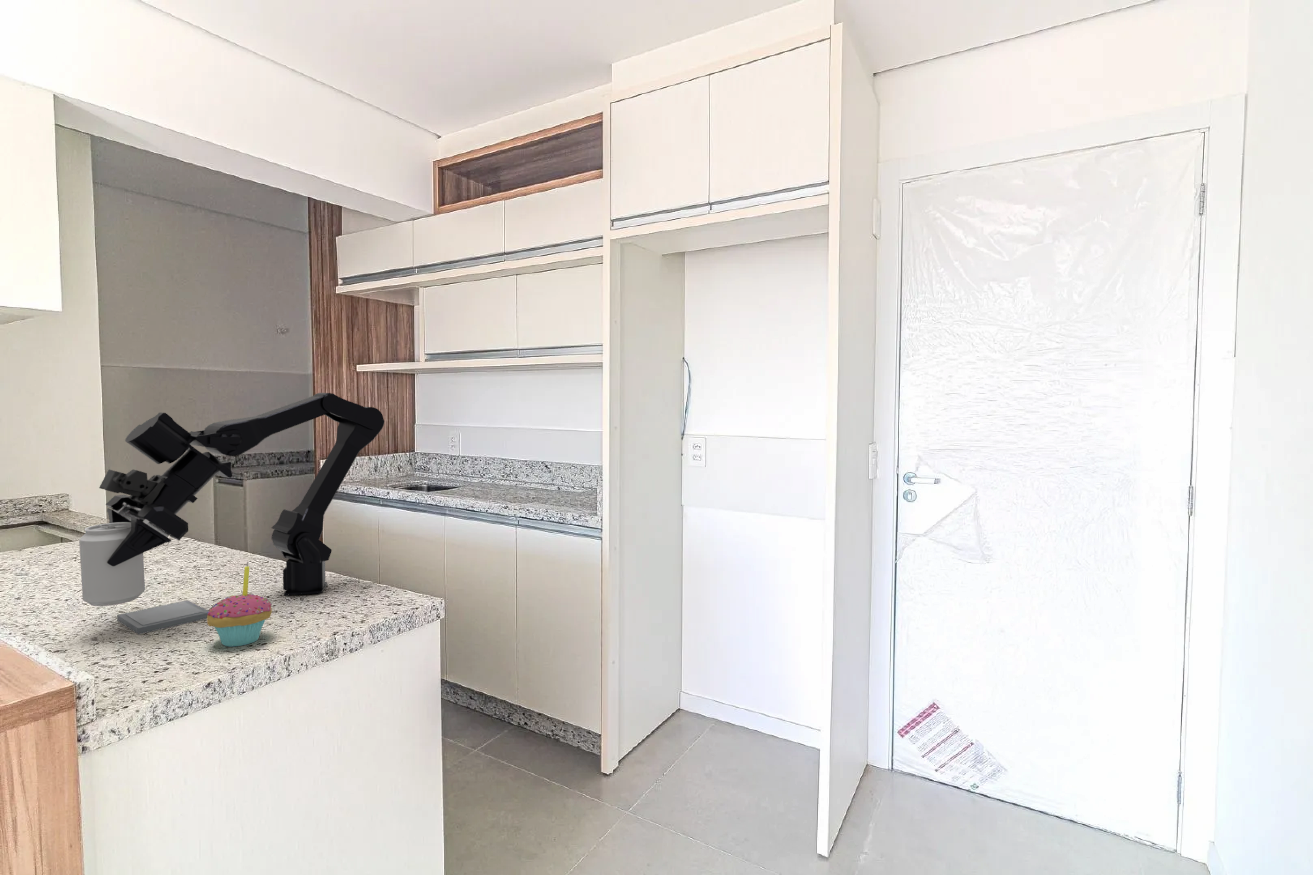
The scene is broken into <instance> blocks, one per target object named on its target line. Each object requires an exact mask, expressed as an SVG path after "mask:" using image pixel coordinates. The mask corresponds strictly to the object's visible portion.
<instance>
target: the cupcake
mask: <svg viewBox="0 0 1313 875" xmlns="http://www.w3.org/2000/svg"><path fill="white" fill-rule="evenodd" d="M249 562H250V561H248V560H247V561H246V566H244V570H243V584H242V594H239V595H233V594H232V595H229V596H227V597H225V598H222V599H221V600H220V601H219V602H216V603H215V604H214V605H212V607H211V608H209V609H208V611H209V612H208V615H207V619H206V622H207V623H206V624H207V625H208V626H209V627H213V628H214V629H215V630H216V631H215V632H217V635H218V637H219V639H220V642H221V644H222V645H223V646H225V647H241V646H245V645H250V644H252V643H255V642H257V641H258V640H259V639H260V638H259V637H260V634H261V631H262V629H263V626H264V624H265V622H266V621H267V620H268V619H270V617H271V616H272V613H273V608H272V605H273V603H272V602H271V601H269V600H268V598H267V597H264V596H262V595H258V594H256V595H255V594H252V593H249V578H250V566H249Z"/></svg>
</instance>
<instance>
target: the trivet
mask: <svg viewBox="0 0 1313 875" xmlns="http://www.w3.org/2000/svg"><path fill="white" fill-rule="evenodd" d="M209 611H210V610H209V609H207V608H204V607H202V606H200V605H198V604H196V603H194V602H193V601H190V600H188V599H187V600H182V601H178V602H174V603H173V602H172V603H168V604H167V603H166V604H162V605H157V606H153V607H149V608H143V609H139V610H138V609H137V610H134V611H133V610H132V611H129V612H124V613H119V614H116V619H117V622H118V623H120V624H122V625H123V626H125V627H126V628H128V629H129V630H131V631H132V632H134V633H136V634H137V635H141V634H146V633H151V632H155V631H159V630H164V629H167V628H171V627H176V626H180V625H181V626H182V625H185V624H189V623H193V622H197V621H202V620H207V615H208V612H209Z"/></svg>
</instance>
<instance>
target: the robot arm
mask: <svg viewBox="0 0 1313 875" xmlns="http://www.w3.org/2000/svg"><path fill="white" fill-rule="evenodd" d="M322 416H326V417H327V418H329V419H331V420H332V421H334V422H336V423H338V425H337V430H336V441H335V442H334V445H333V447H332V448H331V450H330V452H329V454H328V455H327V457H326V458H325V461H324V462H323V464H322V466H321V467H320V469H319V471H318V473H317V474H316V476H315V478H314V480H313V481H312V482H311V485H310V486H309V487H308V490H307V491H306V492H305V495H304V496H303V498H302V500H301V502H300V503H299V504H298V505H297V506H296V507H295V508H294V509H293V510H288V509H283V510H282V511H281V512H280V515H279V517H278V520H277V522H275V524H273V525H272V527H271V529H272V530H273V531H272V533H271V540H272V544H273V546H274V548H275V549H277V550H279V551H280V553H281V555H282V557H283V558H285V559H287V560H286V561H285V567H284V568H283V570H282V588H283V591H284V592H283V596H297V595H299V596H300V595H301V596H302V595H312V594H313V595H314V594H322V593H323V591H324V590H325V589H326V587H327V586H328V581H326V562H327V561H329V560H330V557H331V554H332V549H331V547H329V546H328V545H326V544H325V543H324V542H322V541H321V540H320V539H321V536H322V533H323V531H324V530H323V529H324V518H325V513H326V511H327V510H328V508H329V506H330V504H331V503H332V501H333V499H334V498H335V496H336V494H337V492H338V490H339V488H340V487H341V485H342V483H343V481H344V480H345V478H346V476H347V474H348V473H349V471H350V469H351V468H352V466H353V464H354V462H355V460H356V458H357V457H358V455H359V454H360V452H361V451H362V450H363V449H364V448H365V447H366V446H368V445H369V444H370V443H372V442H373V441H374V440H375V439H376V437H377V436H378V435H379V434H380V432H381V431H382V430H383V429H384V428H383V427H384V425H385V419H384V415H383V414H382V412H381V411H380V410H379V409H378V408H376V407H375V406H374V407H373V406H363V405H360V404H358V403H356V402H352V401H350V400H348V399H344V398H342V397H341V396H338V395H336V394H334V393H333V392H332V393H331V392H318V393H317V392H316V393H315V394H314V395H312V396H309V397H306V398H304V399H301V400H297V401H296V402H295V401H294V402H293V403H292V402H291V403H289V404H287V405H284V406H281V407H278V408H275V409H273V410H270V411H267V412H263V413H261V414H257V415H254V416H250V417H241V418H233V419H228V420H221V421H217V422H213V423H211V424H208V425H207V426H206V427H205V428H204V429H203V430H196V431H190V432H188V430H187V429H185V428H184V427H182V426H181V425H180V424H179V423H177V422H176V421H175V420H174V419H173V417H171V416H170V415H169V414H168V413H166V412H158V413H157V414H156V415H154V416H152V417H150V418H149V419H148V420H146V421H145V422H143V423H141V424H138V425H137V426H135V427H134V428H133V430H131V431H130V432H129V433H128V435H127V436H126V438H125V439H124V440H125V442H126V443H127V444H129V445H130V446H131V447H132V448H134V449H135V450H137V451H138V452H140V453H141V454H143V455H144V456H146V457H147V458H148V459H149V460H151V461H152V462H154V463H155V464H156V465H160V464H163V463H165V462H166V463H167V464H172V465H171V466H170V467H169V468H168V469H167V470H166V471H165V472H163V473H162V474H161V475H160V474H154V475H152V476H151V477H150V478H149V479H148V473H147V472H144V471H141V470H137V469H131V470H129V471H128V472H127V473H124V472H120V471H117V470H113V469H107V472H106V474H105V476H104V478H103V480H102V481H101V483H100V485H99V487H98V488H99V489H102V490H104V491H108V492H111V493H114V494H115V493H116V494H119V495H114V496H113V497H112V498H111V499H109V501H107V503H105V506H107V507H108V508H107V509H106V513H107V514H108V520H109V521H108V523H117V522H131V531H130V533H129V534H128V535H127V536H126V538H125V539H124V540H123V541H122V543H121V544H120V545H119V547H118V548H117V549H116V550H115V552H114V553H113V554H112V556H111V557H110V558H109V560H108V561H107V563H108V564H109V565H111V566H116V565H118V564H120V563H122V562H125V561H127V560H129V559H131V558H133V557H135V556H137V555H139V554H142V553H143V554H144V553H146V552H148V551H150V550H152V549H155V548H158V547H159V546H162V545H164V544H169V543H171V542H172V539H174V540H177V541H180V540H181V539H182V538H183V537H184V536H185V535H186V534H187V533H188V532H189V522H187V521H186V520H184V519H183V518H181V517H180V516H179V515H177V514H178V513H180V511H181V510H182V509H183V508H184V507H185V506H186V505H187V504H189V503H191V504H194V503H195V502H196V501H197V500H198V499H199V498H198V497H196V495H197V494H198V493H200V491H202V489H203V488H204V487H205V486H207V484H209V482H210V481H211V480H212V479H213V478H214V477H215V476H216V475H219V476H221V477H224V478H228V479H229V478H232V477H233V472H232V471H233V470H232V462H231V461H225V460H224V461H222V460H220V459H218V458H217V457H216V456H215V455H219V456H220V455H222V456H229V457H236V456H241V455H242V454H244V453H247V452H248V451H250V450H251V449H253V448H254V447H256V446H257V447H258V445H259V444H260V443H261V442H263V441H264V440H265V439H267V438H268V437H270V436H272V435H276V434H278V433H280V432H282V431H286V430H288V429H290V428H293V427H296V426H298V425H301V424H303V423H307V422H309V421H312V420H315V419H317V418H321V417H322ZM194 446H197V447H203V448H205V449H206V450H207V451H205V452H203V453H202V452H201V451H199V449H197V448H195V447H194ZM214 454H215V455H214ZM120 493H121V494H120ZM169 537H170V538H169Z"/></svg>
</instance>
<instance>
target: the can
mask: <svg viewBox="0 0 1313 875" xmlns="http://www.w3.org/2000/svg"><path fill="white" fill-rule="evenodd" d="M84 531H85V533H84V534H83V535H82V536H81V537H80V538H79V539H78V544H79V560H80V577H81V590H82V591H81V592H82V593H81V594H82V595H81V596H82V601H84V602H85V603H87V604H89V605H91V606H92V607H107V606H109V607H110V606H117V605H122V604H126V603H129V602H132V601H134V600H137V599H138V598H140V596H141V595H142V594H143V593H145V591H146V581H145V566H144V565H145V564H144V561H145V559H144V553H142V554H139V555H137V556H135V557H133V558H131V559H129V560H127V561H125V562H122V563H120V564H118V565H116V566H111V565H109V564H108V563H107V561H108V560H109V558H110V557H111V556H112V554H113V553H114V552H115V550H116V549H117V548H118V547H119V545H120V544H121V543H122V541H123V540H124V539H125V538H126V536H127V535H128V534H129V533H130V531H131V522H117V523H109V522H107V523H100V524H94V525H90V526H88V527H85V528H84Z"/></svg>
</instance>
